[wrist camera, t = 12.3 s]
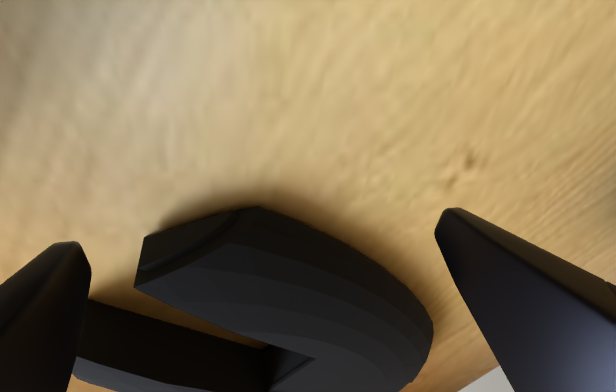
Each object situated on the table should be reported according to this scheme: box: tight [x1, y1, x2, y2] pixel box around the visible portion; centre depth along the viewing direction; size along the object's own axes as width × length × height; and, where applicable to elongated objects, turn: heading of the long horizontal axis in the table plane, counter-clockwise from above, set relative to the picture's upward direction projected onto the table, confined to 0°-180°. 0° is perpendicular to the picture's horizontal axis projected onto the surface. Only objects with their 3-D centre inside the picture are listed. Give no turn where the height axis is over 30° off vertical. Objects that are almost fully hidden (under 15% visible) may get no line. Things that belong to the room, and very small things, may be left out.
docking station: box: [72, 207, 434, 392], centre depth 33 cm, size 25×40×5 cm, turn 41°
